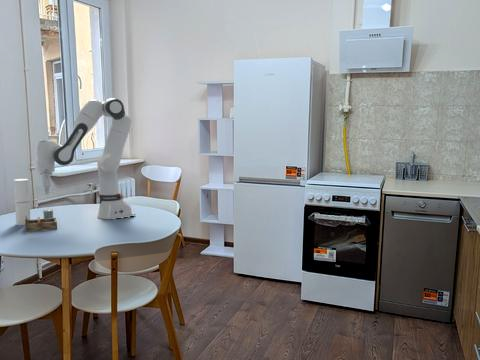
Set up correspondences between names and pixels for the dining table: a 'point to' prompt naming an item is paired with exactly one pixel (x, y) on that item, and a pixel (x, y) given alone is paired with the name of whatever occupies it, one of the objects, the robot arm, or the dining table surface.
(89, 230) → the dining table surface
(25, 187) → the cylindrical container
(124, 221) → the dining table surface
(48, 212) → the jar
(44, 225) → the brown wooden open box
